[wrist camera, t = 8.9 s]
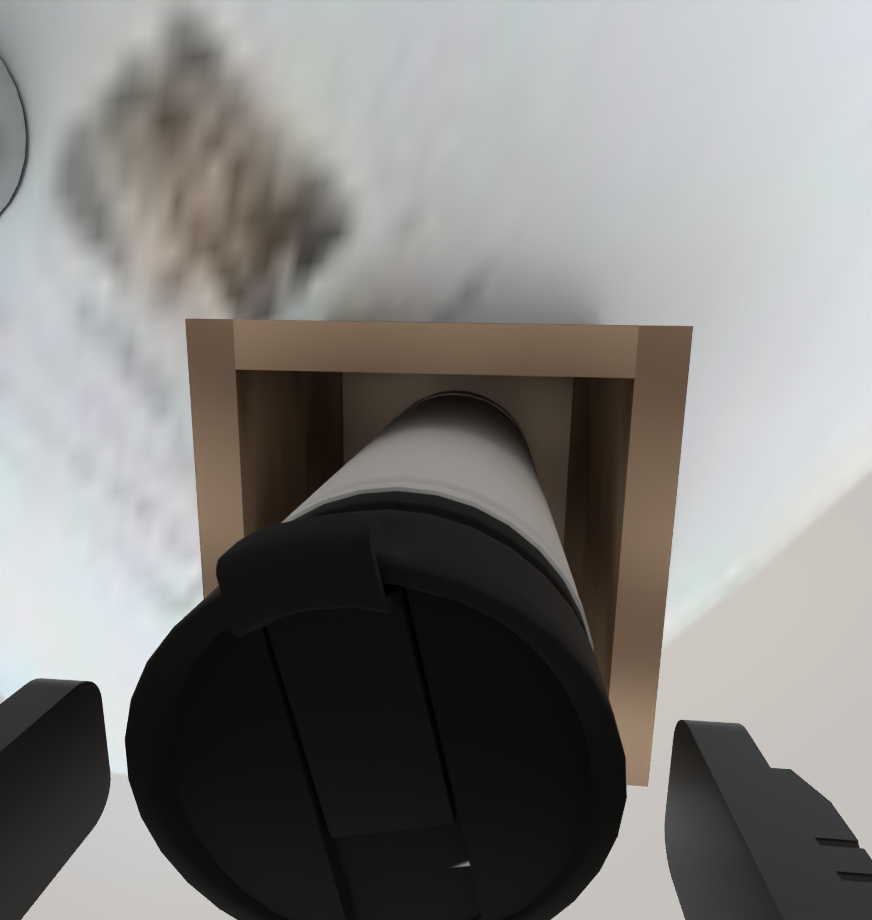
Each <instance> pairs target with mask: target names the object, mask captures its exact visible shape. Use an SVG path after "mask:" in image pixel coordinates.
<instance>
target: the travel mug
mask: <svg viewBox="0 0 872 920" xmlns="http://www.w3.org/2000/svg"><path fill="white" fill-rule="evenodd" d="M216 577H217V580H218V584H219V586H218V587H216V588H215V589H214V590H213V591H212V592H211V593H210V594H209V595H208V596H207V597H206V598H205V599H204V600H203V601H202V602H201V603H200V604H198V605H197V606H196V607H195V608H194V609H193V610H192V611H191V612H190V613H189V614H188V615H187V616H185V617H184V618H183V619H182V620H181V621H180V622H179V623H178V624H177V625H176V626H175V627H173V629H172V630H171V631H170V633H169V634H168V635H167V636H166V638H165V639H164V640H163V642H162V643H161V644H160V646H159V647H158V648H157V650H156V651H155V652H154V653H153V655H152V656H151V657H150V659H149V660H148V661H147V663H146V666H145V668H144V670H143V673H142V675H141V677H140V680H139V682H138V684H137V687H136V689H135V691H134V693H133V696H132V698H131V703H130V709H129V716H128V722H127V729H126V735H125V747H126V757H127V768H128V778H129V782H130V785H131V788H132V791H133V794H134V797H135V800H136V803H137V806H138V809H139V812H140V815H141V818H142V820H143V821H144V823H145V825H146V826H147V828H148V830H149V832H150V833H151V835H152V837H153V838H154V840H155V842H156V843H157V845H158V847H159V849H160V850H161V852H162V853H163V854H164V855H165V857H166V858H167V859H168V860H169V861H170V862H171V863H172V865H173V866H174V867H175V868H176V869H177V871H178V872H179V873H180V874H181V875H182V876H183V878H184V879H185V880H186V881H187V882H188V883H189V884H190V885H191V886H193V887H194V888H195V889H196V890H198V891H199V892H200V893H201V894H202V895H203V896H205V897H206V898H207V899H208V900H209V901H211V902H212V903H213V904H214V905H215V906H217V907H218V908H219V909H220V910H222V911H224V912H226V913H227V914H229V915H231V916H232V917H234V918H236V919H237V920H551V919H552V918H553V917H555V916H556V915H557V914H558V913H560V912H561V911H562V910H564V909H565V908H566V907H567V906H569V905H570V904H571V903H573V902H574V901H575V900H576V898H577V897H578V896H579V895H580V894H581V893H582V891H583V890H584V889H585V888H586V887H587V885H588V884H589V883H590V882H591V881H592V879H593V878H594V877H595V876H596V875H597V874H598V872H599V871H600V869H601V868H602V866H603V864H604V862H605V860H606V858H607V856H608V854H609V852H610V850H611V848H612V846H613V844H614V842H615V840H616V838H617V836H618V832H619V828H620V824H621V820H622V815H623V811H624V807H625V802H626V798H627V796H626V795H627V794H626V756H625V753H624V749H623V745H622V742H621V738H620V735H619V731H618V727H617V724H616V720H615V716H614V713H613V710H612V707H611V704H610V701H609V698H608V695H607V692H606V689H605V686H604V683H603V679H602V676H601V673H600V670H599V667H598V664H597V661H596V658H595V655H594V648H593V642H592V638H591V635H590V631H589V627H588V624H587V620H586V617H585V613H584V610H583V607H582V604H581V601H580V599H579V596H578V593H577V589H576V586H575V583H574V580H573V577H572V574H571V571H570V568H569V565H568V562H567V560H566V557H565V554H564V551H563V548H562V545H561V542H560V539H559V536H558V533H557V530H556V527H555V524H554V521H553V518H552V515H551V512H550V509H549V507H548V504H547V501H546V498H545V495H544V492H543V489H542V486H541V483H540V480H539V477H538V474H537V471H536V468H535V465H534V462H533V459H532V456H531V454H530V451H529V448H528V445H527V442H526V439H525V436H524V434H523V433H522V431H521V429H520V427H519V425H518V423H517V422H516V421H515V420H514V418H513V417H512V416H511V415H510V414H509V413H508V412H507V411H506V410H505V409H504V408H502V407H501V406H500V405H499V404H498V403H496V402H494V401H492V400H490V399H488V398H487V397H485V396H481V395H478V394H475V393H472V392H465V391H446V392H439V393H436V394H432V395H429V396H426V397H424V398H422V399H421V400H419V401H417V402H415V403H413V404H412V405H411V406H410V407H409V408H407V409H406V410H405V411H404V412H403V413H401V414H400V415H399V416H398V417H397V418H396V419H395V420H394V421H393V422H392V423H390V424H389V425H388V426H387V427H386V428H385V429H384V430H383V431H382V432H381V433H379V434H378V435H377V436H376V437H375V438H374V439H373V440H372V441H371V442H370V443H368V444H367V445H366V446H365V447H364V448H363V449H362V450H361V451H360V452H358V453H357V454H356V455H355V456H354V457H353V458H352V459H351V460H350V461H349V462H347V463H346V464H345V465H344V466H343V467H342V468H341V469H340V470H339V471H338V472H336V473H335V474H334V475H333V476H332V477H331V478H330V479H329V480H328V481H327V482H325V483H324V484H323V485H322V486H321V487H320V488H319V489H318V490H317V491H316V492H314V493H313V494H312V495H311V496H310V497H309V498H308V499H307V500H306V501H305V502H303V503H302V504H301V505H300V506H299V507H298V508H297V509H296V510H295V511H294V512H292V513H291V514H290V515H289V516H288V517H287V518H286V519H285V520H284V521H283V522H281V523H279V524H275V525H270V526H265V527H262V528H260V529H258V530H256V531H255V532H253V533H251V534H249V535H248V536H246V537H244V538H242V539H241V540H239V541H238V542H236V543H235V544H234V545H233V546H232V547H231V548H230V549H229V550H227V551H226V552H225V553H224V554H223V555H222V556H221V557H220V558H219V559H218V562H217V566H216Z"/></svg>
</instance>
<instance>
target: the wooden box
mask: <svg viewBox="0 0 872 920" xmlns="http://www.w3.org/2000/svg"><path fill="white" fill-rule="evenodd" d="M185 321H186V336H187V351H188V367H189V382H190V397H191V412H192V428H193V443H194V458H195V474H196V489H197V504H198V519H199V535H200V550H201V565H202V580H203V596H204V599H205V598H206V597H207V596H208V595H209V594H210V593H211V592H212V591H213V590H214V589H215V588H216V587H218V586H219V584H218V580H217V577H216V566H217V562H218V559H219V558H220V557H221V556H222V555H223V554H224V553H225V552H226V551H227V550H229V549H230V548H231V547H232V546H233V545H234V544H235V543H236V542H238V541H239V540H241V539H242V538H244V537H246V536H248V535H249V534H251V533H253V532H255V531H256V530H258V529H260V528H262V527H265V526H270V525H275V524H279V523H281V522H283V521H284V520H285V519H286V518H287V517H288V516H289V515H290V514H291V513H292V512H294V511H295V510H296V509H297V508H298V507H299V506H300V505H301V504H302V503H303V502H305V501H306V500H307V499H308V498H309V497H310V496H311V495H312V494H313V493H314V492H316V491H317V490H318V489H319V488H320V487H321V486H322V485H323V484H324V483H325V482H327V481H328V480H329V479H330V478H331V477H332V476H333V475H334V474H335V473H336V472H338V471H339V470H340V469H341V468H342V467H343V466H344V465H345V464H346V463H347V462H349V461H350V460H351V459H352V458H353V457H354V456H355V455H356V454H357V453H358V452H360V451H361V450H362V449H363V448H364V447H365V446H366V445H367V444H368V443H370V442H371V441H372V440H373V439H374V438H375V437H376V436H377V435H378V434H379V433H381V432H382V431H383V430H384V429H385V428H386V427H387V426H388V425H389V424H390V423H392V422H393V421H394V420H395V419H396V418H397V417H398V416H399V415H400V414H401V413H403V412H404V411H405V410H406V409H407V408H409V407H410V406H411V405H412V404H413V403H415V402H417V401H419V400H421V399H422V398H424V397H426V396H429V395H432V394H436V393H439V392H446V391H465V392H472V393H475V394H478V395H481V396H485V397H487V398H488V399H490V400H492V401H494V402H496V403H498V404H499V405H500V406H501V407H502V408H504V409H505V410H506V411H507V412H508V413H509V414H510V415H511V416H512V417H513V418H514V420H515V421H516V422H517V423H518V425H519V427H520V429H521V431H522V433H523V434H524V436H525V439H526V442H527V445H528V448H529V451H530V454H531V456H532V459H533V462H534V465H535V468H536V471H537V474H538V477H539V480H540V483H541V486H542V489H543V492H544V495H545V498H546V501H547V504H548V507H549V509H550V512H551V515H552V518H553V521H554V524H555V527H556V530H557V533H558V536H559V539H560V542H561V545H562V548H563V551H564V554H565V557H566V560H567V562H568V565H569V568H570V571H571V574H572V577H573V580H574V583H575V586H576V589H577V593H578V596H579V599H580V601H581V604H582V607H583V610H584V613H585V617H586V620H587V624H588V627H589V631H590V635H591V638H592V642H593V648H594V655H595V658H596V661H597V664H598V667H599V670H600V673H601V676H602V679H603V683H604V686H605V689H606V692H607V695H608V698H609V701H610V704H611V707H612V710H613V713H614V716H615V720H616V724H617V727H618V731H619V735H620V738H621V742H622V745H623V749H624V753H625V756H626V785H635V786H648V780H649V770H650V760H651V749H652V738H653V729H654V719H655V709H656V699H657V689H658V678H659V668H660V658H661V648H662V638H663V627H664V617H665V607H666V597H667V587H668V576H669V566H670V556H671V546H672V535H673V525H674V515H675V505H676V495H677V484H678V474H679V464H680V454H681V444H682V433H683V423H684V413H685V403H686V393H687V382H688V372H689V362H690V352H691V342H692V331H693V326H637V325H569V324H501V323H433V322H366V321H298V320H230V319H185Z"/></svg>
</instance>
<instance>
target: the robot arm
mask: <svg viewBox="0 0 872 920" xmlns="http://www.w3.org/2000/svg"><path fill="white" fill-rule="evenodd" d="M25 145H26V131H25V123H24V115H23V109H22V106H21V103H20V99H19V96H18V93H17V89H16V86H15V84H14V82H13V80H12V78H11V76H10V74H9V72H8V70H7V69H6V67H5V65H4V63H3V61H2V60H1V59H0V212H1V211H2V210H3V208H4V207H5V206H6V205H7V204H8V202H9V200H10V199H11V197H12V195H13V193H14V191H15V189H16V187H17V185H18V183H19V179H20V175H21V172H22V168H23V164H24V160H25ZM110 779H111V778H110V766H109V758H108V749H107V740H106V731H105V723H104V714H103V705H102V697H101V693H100V690H99V688H98V687H97V685H96V684H95V683H93V682H89V681H75V680H58V679H42V678H39V679H35V680H32V681H30V682H29V683H27V684H26V685H24V686H23V687H22V688H21V689H19V690H18V691H17V692H15V693H14V694H13V695H11V696H10V697H9V698H8V699H6V700H5V701H4V702H2V703H1V704H0V920H21V919H22V918H23V916H24V915H25V914H26V913H27V911H28V910H29V908H31V906H32V905H33V904H34V902H35V901H36V900H37V899H38V897H39V896H40V895H41V894H42V892H43V891H44V890H45V889H46V887H47V886H48V885H49V883H50V882H51V881H52V880H53V878H54V877H55V876H56V875H57V873H58V872H59V871H60V870H61V868H62V867H63V866H64V865H65V863H66V862H67V861H68V860H69V858H70V857H71V855H72V854H73V853H74V852H75V851H76V849H77V848H78V847H79V846H80V844H81V843H82V842H83V840H84V839H85V838H86V837H87V835H88V834H89V833H90V832H91V830H92V829H93V828H94V826H95V825H96V824H97V822H98V820H99V818H100V816H101V814H102V812H103V810H104V807H105V805H106V801H107V798H108V794H109V789H110ZM665 844H666V853H667V860H668V865H669V869H670V873H671V877H672V880H673V883H674V886H675V889H676V892H677V896H678V899H679V902H680V905H681V908H682V911H683V914H684V917H685V920H872V859H871V858H870V856H869V855H868V854H867V852H866V851H865V849H861V848H860V847H859V845H858V840H857V838H856V837H855V835H854V834H853V833H852V831H851V830H850V829H849V827H848V826H847V824H846V823H845V822H844V820H843V819H842V817H841V816H840V814H839V813H838V812H837V810H836V809H835V808H834V806H833V805H832V803H831V802H830V801H829V800H827V799H826V798H825V797H824V796H823V795H821V794H820V793H819V792H818V791H817V790H815V789H814V788H813V787H812V786H810V785H809V784H808V783H807V782H805V781H804V780H803V779H802V778H801V777H799V776H798V775H797V774H796V773H794V772H793V771H792V770H791V769H778V768H777V769H776V768H770V767H769V765H768V763H767V761H766V760H765V758H764V757H763V755H762V753H761V752H760V751H759V749H758V747H757V746H756V744H755V742H754V741H753V739H752V738H751V736H750V735H749V733H748V731H747V730H746V729H745V727H744V726H742V725H741V724H739V723H723V722H707V721H691V720H680V721H678V723H677V725H676V727H675V731H674V738H673V747H672V756H671V766H670V776H669V785H668V795H667V804H666V813H665Z"/></svg>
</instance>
